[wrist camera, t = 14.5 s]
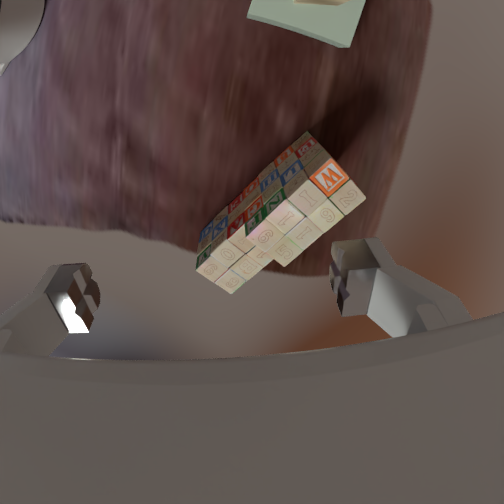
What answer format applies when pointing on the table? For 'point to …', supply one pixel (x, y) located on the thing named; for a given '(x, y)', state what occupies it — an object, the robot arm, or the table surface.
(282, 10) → the plinth
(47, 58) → the table surface
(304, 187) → the stack of blocks
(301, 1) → the maple block
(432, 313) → the robot arm
